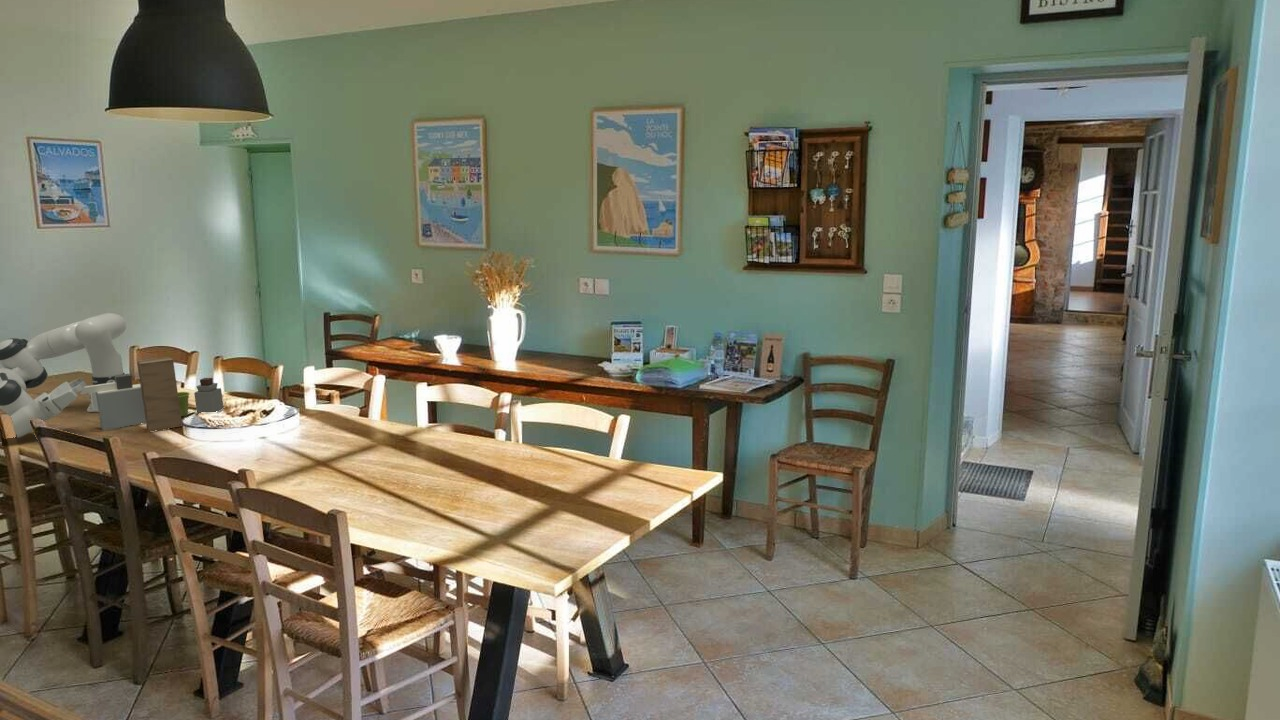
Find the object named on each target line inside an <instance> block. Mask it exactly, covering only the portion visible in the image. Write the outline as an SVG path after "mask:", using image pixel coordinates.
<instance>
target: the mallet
mask: <svg viewBox="0 0 1280 720" xmlns="http://www.w3.org/2000/svg"><path fill="white" fill-rule="evenodd" d="M114 377H115V382H113V383H106V384H98V385H93V384H91V385H87V386H85V387H84V388H83V389H82V390H81V391H79V393H80V395H86V394H89V393H95V392H102V391H109V390H116V389H118V390H120V389H127V388H133V387H132V385H133V383H132V375H131V374H130V373H125V374H122V375H114Z"/></svg>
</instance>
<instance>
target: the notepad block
mask: <svg viewBox="0 0 1280 720" xmlns="http://www.w3.org/2000/svg"><path fill="white" fill-rule="evenodd" d="M132 387H133V388H127V389H120V390H118V389H116V390H109V391H102V392H96V398H97V404H98V411H99V412H98V416H99V422H100V428H101V429H102V431H103V432H104V431H109V430H116V429H121V428H120V427H122V428H125V427H124V426H128V427H130V426H129V425H134V426H137V425H136V424H140V425H142V424H141V423H146V420H145V414H144V407H143V400H142V393H141V386H140V383H137V384H136V383H135V384H132Z"/></svg>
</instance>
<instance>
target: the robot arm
mask: <svg viewBox="0 0 1280 720" xmlns="http://www.w3.org/2000/svg"><path fill="white" fill-rule="evenodd" d="M126 323H127V322H126V321H125V319H124V317H123V316H122V315H119V314H118V313H112V312H106V313H105V312H104V313H101V314H98V315H94V316H90V317H87V318H85V319H83V320H79V321H75V322H72V323H69V324H66V325H63V326H59V327H57V328H54V329H50V330H47V331H45V332H42V333H40V334H38V335H35V336H34V337H32V338H30V339H29V341H28V340H27V339H25V338H18V337H17V338H13V337H12V338H8V339H4V340H2V341H0V364H1V365H2V367H1V368H0V409H1V410H2V411H3V412H4V413H5V414H6V415H7V416H8V415H9V416H10V417H11V418H12V421H13V426H14V430H15V433H16V437H17V438H16V437H15V438H16V439H19V438H22V437H24V436H25V435H28V434H29V433H31V432H32V431H34V430H33V429H32V427H31V425H30V418H39V419H41V420H43V421H44V422H46V421H49V420H51V419H52V418H54V417H55V416H58V415H60V414H61V413H62V412H63V410H64V409H65V408H66V407H68V406H69V405H70V404H72V403H73V402H74V401H75V400H76V399H78V397H79V395H78V393H80V391H81V390H82V389H83V388H84V387H85V386H88V385H87V383H86V382H85V380H84V379H83V377H81V376H80V377H78V378H76V379H75V380H72V381H70V382H68V381H67V380H65V381H64V382H63V383H61V384H59V385H58V386H57V387H55V388H54V389H52V391H50V392H49V393H47V392H46V391H44V392H43V393H41V394H40V395H38V396H37V397H35V398H34V399H33V397H32V396H31V395H29V394H28V392H27V389H35V388H37V387H39V386H40V385H42V384H43V383H45V382H46V380H47V378H48V376H49V375H48V372H47V370H46V368H45V367H44V366H42V364H41V362H40V360H48V359H53V358H58V357H61V356H64V355H68V354H70V353H71V354H72V353H74V352H78V351H81V350H84V349H85V350H86V352H87V354H88V358H89V361H90V367H91V371H92V372H91V373H92V377H91V382H92V385H98V384H106V383H113V382H115V377H114V375H122V374H126V373H125V371H124V367H123V362H122V356H121V353H120V352H118V351H117V349H116V348H115V345H114V343H113V340H114V339H118V338H119V337H120V336H121V335H122V334H123V333H124V332H126V329H127V324H126ZM88 399H89V400H90V402H89V405H88V407H87V409H86V412H87V413H90V412H93V413H94V412H97V413H99V411H98V404H97V398H96V392H95V393H88ZM9 416H8V417H9Z"/></svg>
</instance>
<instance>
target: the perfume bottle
mask: <svg viewBox="0 0 1280 720" xmlns="http://www.w3.org/2000/svg"><path fill="white" fill-rule="evenodd" d="M213 381H214V378H213V377H203V378H201V379H199V382H200V383H199V385H196V389H197V391H195V392H194V393H193V394H194V401H195V402H194V403H195V409H196V416H197V415H198V414H199V413H201V412H216V411H219V410H221V409H222V408H224V401H223V392H222V388H221V387H220V388H218V384H219V383H218V382H213Z"/></svg>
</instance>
